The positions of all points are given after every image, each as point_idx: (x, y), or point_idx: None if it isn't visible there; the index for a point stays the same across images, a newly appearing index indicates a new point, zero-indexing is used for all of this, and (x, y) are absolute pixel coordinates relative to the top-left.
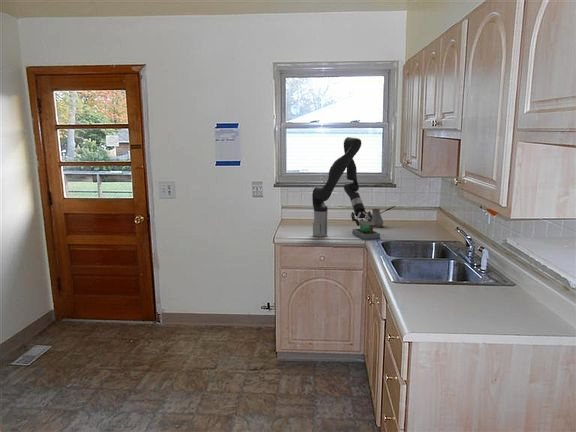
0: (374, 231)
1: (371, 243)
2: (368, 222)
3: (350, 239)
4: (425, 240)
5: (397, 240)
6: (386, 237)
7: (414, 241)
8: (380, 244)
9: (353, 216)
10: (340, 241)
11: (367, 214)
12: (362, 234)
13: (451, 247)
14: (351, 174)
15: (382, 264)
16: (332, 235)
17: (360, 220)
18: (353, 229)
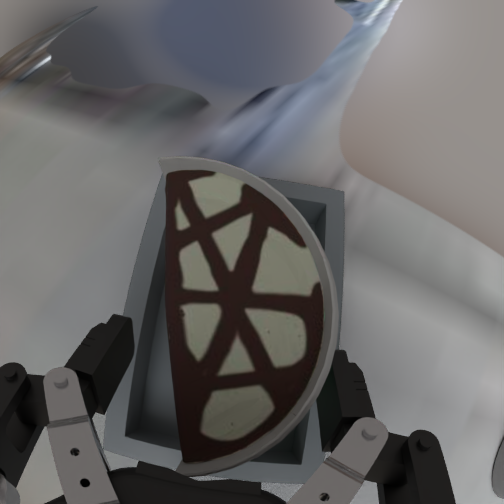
0: (150, 259)
1: (321, 123)
2: (254, 182)
3: (419, 277)
4: (20, 95)
5: (112, 119)
6: (100, 206)
7: (67, 87)
8: (279, 90)
9: (439, 487)
10: (486, 256)
11: (15, 498)
12: (343, 218)
13: (66, 24)
14: None
15: (387, 6)
16: (473, 449)
17: (329, 352)
18: (321, 459)
